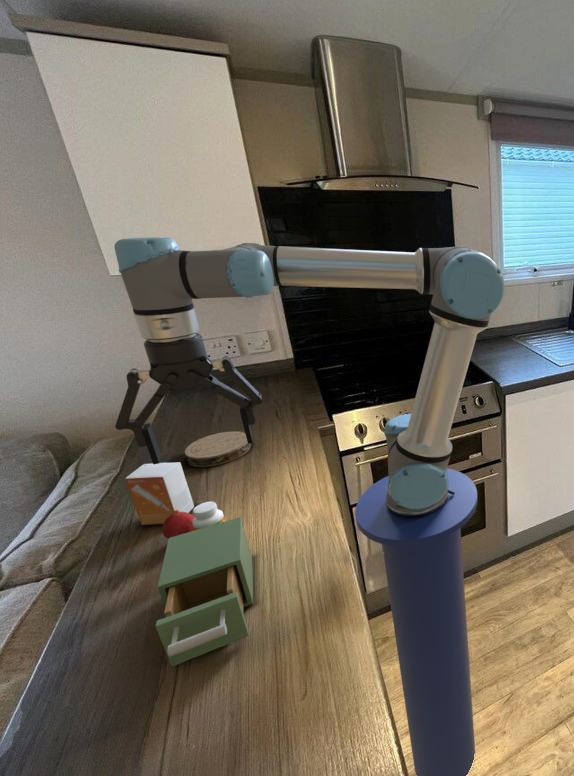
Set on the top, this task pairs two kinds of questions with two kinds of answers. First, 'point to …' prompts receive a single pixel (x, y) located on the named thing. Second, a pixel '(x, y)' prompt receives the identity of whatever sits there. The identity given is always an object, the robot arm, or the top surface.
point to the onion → (178, 524)
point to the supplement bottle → (207, 515)
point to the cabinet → (208, 556)
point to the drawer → (203, 615)
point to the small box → (159, 491)
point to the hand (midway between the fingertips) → (206, 450)
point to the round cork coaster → (217, 449)
